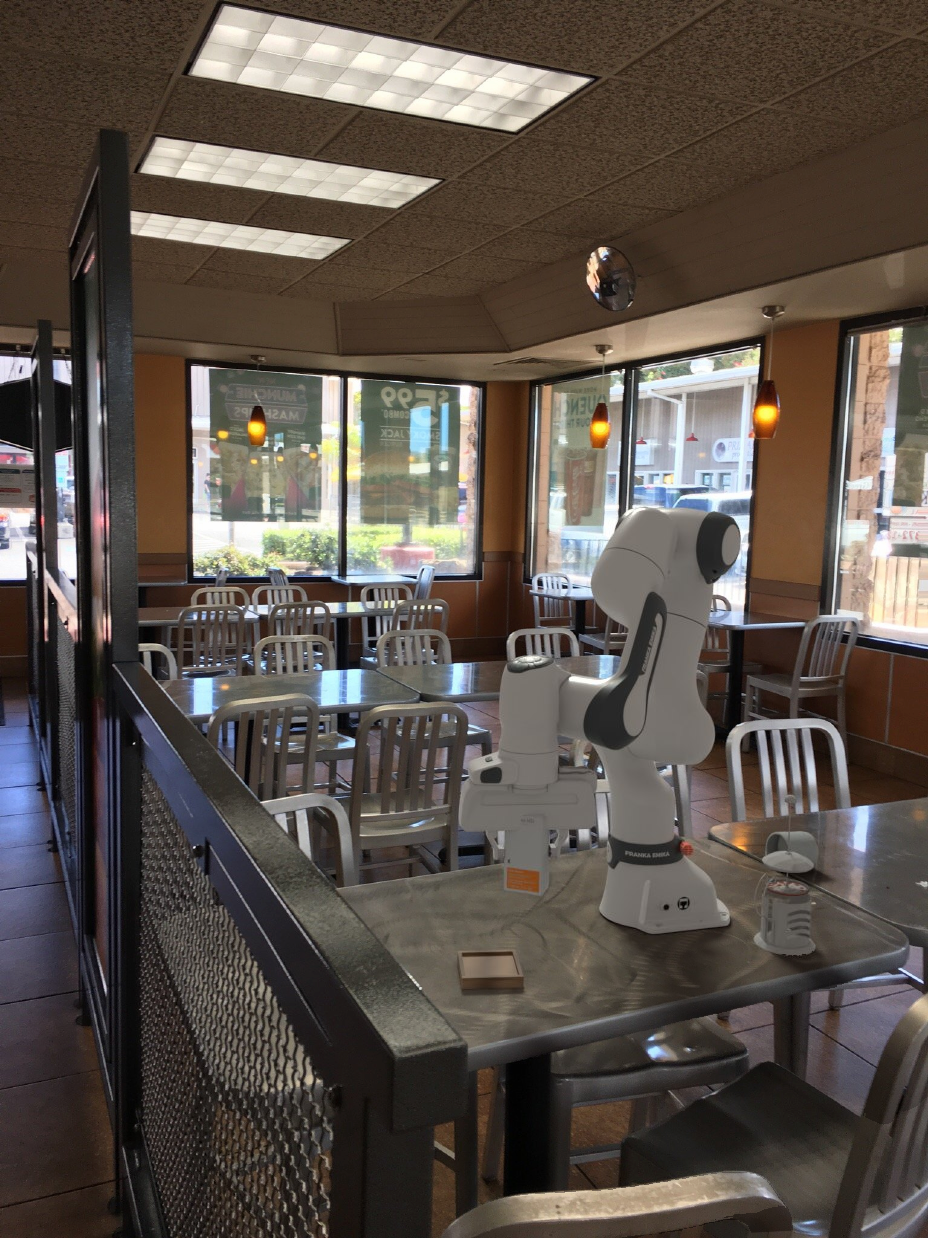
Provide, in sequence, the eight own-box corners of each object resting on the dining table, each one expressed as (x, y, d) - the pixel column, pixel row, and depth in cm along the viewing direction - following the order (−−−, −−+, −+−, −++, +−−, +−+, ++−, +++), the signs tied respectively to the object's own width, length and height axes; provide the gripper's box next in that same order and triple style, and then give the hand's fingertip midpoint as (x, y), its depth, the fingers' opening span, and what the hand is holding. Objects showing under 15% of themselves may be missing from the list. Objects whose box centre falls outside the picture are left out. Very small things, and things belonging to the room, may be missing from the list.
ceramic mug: (822, 872, 197) (823, 834, 197) (788, 877, 194) (790, 838, 194) (786, 855, 207) (787, 819, 206) (754, 860, 204) (755, 823, 203)
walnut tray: (515, 960, 157) (515, 949, 157) (523, 987, 148) (523, 976, 148) (457, 961, 156) (457, 951, 156) (461, 989, 147) (461, 978, 147)
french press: (828, 947, 163) (836, 798, 160) (780, 963, 157) (787, 809, 154) (780, 926, 171) (786, 783, 168) (733, 941, 165) (738, 793, 162)
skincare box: (502, 892, 147) (503, 813, 146) (511, 882, 151) (512, 805, 150) (542, 897, 145) (543, 817, 144) (550, 887, 149) (551, 809, 148)
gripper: (592, 760, 150) (590, 849, 152) (457, 762, 148) (456, 852, 150) (602, 771, 144) (600, 863, 146) (462, 773, 142) (460, 867, 143)
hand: (526, 858), depth 148 cm, fingers closed on skincare box, 7 cm apart
